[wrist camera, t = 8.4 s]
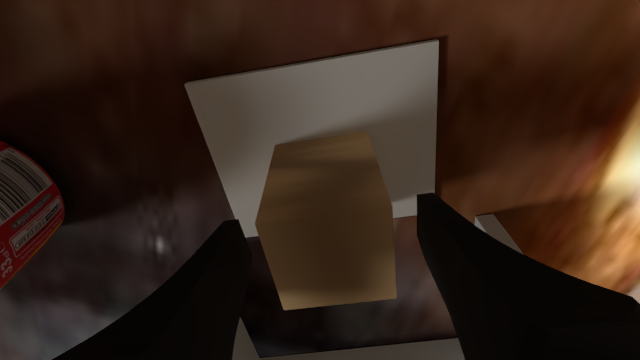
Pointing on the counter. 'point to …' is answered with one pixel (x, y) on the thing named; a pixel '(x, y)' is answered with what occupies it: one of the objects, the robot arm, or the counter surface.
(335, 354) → the open box
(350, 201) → the wooden block
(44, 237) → the soda can
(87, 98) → the counter surface
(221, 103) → the grey mat
